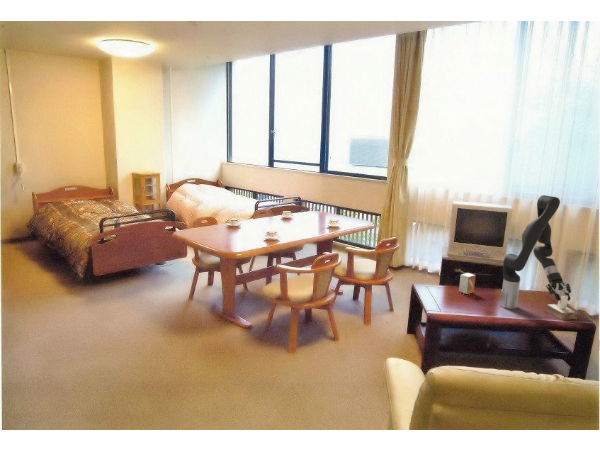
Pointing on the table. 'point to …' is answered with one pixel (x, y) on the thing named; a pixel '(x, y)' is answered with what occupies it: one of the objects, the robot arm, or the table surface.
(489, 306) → the table surface
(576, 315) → the dock
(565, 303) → the canister
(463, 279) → the small box
